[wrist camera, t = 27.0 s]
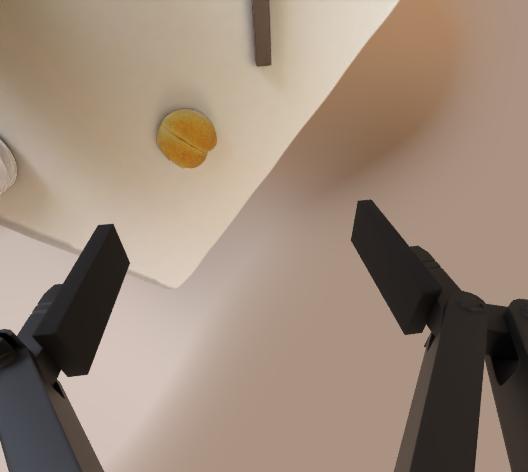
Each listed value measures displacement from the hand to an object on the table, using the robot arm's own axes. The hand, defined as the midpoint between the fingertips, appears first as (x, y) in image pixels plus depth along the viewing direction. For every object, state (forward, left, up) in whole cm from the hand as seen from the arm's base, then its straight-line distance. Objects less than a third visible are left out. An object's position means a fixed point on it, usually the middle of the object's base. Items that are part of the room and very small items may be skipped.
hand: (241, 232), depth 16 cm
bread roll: (-2, -9, -35) cm, 36 cm away
